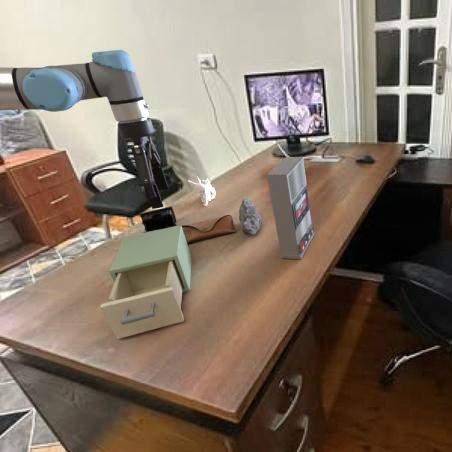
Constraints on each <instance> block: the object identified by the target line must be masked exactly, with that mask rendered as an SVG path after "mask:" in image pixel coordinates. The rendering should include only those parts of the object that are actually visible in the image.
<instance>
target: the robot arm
mask: <svg viewBox="0 0 452 452" xmlns="http://www.w3.org/2000/svg"><path fill="white" fill-rule="evenodd" d="M91 58H92V59H91V60H92V61H89V62H84V63H71V64H58V65H45V66H42V67H3V66H2V67H0V111H27V110H28V111H29V110H33V111H34V110H35V111H39V110H41V111H46V112H51V113H54V112H55V113H56V112H64V111H67V110H70V109H71V108H73V107H74V106H75V105H76V104H77V103H79V102H80V101H87V100H93V99H100V98H107V100H108V103H109V106H110V110H111V111H112V112H111V113H112V114H113V116H114V120H115V121H116V122H118V123H117V127H118V131H119V133H120V136H121V137H122V139H124V140H132V145H130V150H131V153H132V155H133V159H134V163H135V168H136V172H137V176H138V180H139V183H138V186H139V187H140V188H142V187H143V189H144V191H145V194H146V196H147V199H148V202H149V204H150V207H151V210H157V209H162V208H165V205H164V203H163V200H162V197H161V194H160V191H164V190H165V191H166V190H169V185H168V181H167V178H166V176H165V173H164V170H163V167H164V166H165V164H164V161H163V162H162V159H161V157H160V155H159V153H158V150H157V148H156V146H155V144H154V142H153V140H152V137H151V136H152V135H154V134H155V129H154V125H153V122H152V119H151V118H150V117H149V116H150V115H149V114H150V113H149V111H148V108H149V107H150V105H149V103H145V99H144V95H143V92H142V89H141V86H140V83H139V80H138V75H137V74H136V69H135V68H134V65H133V63H132V59H131V57H130V55H129V53H128V52H127V51H126V50H124V49H114V50H105V51H93V52H91Z"/></svg>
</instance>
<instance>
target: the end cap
mask: <svg viewBox="0 0 452 452" xmlns="http://www.w3.org/2000/svg"><path fill="white" fill-rule="evenodd" d="M139 216H140V219H141V224H142V225H143V226H144V231H145V233H146V232H150V231H155V230H160V229H165V228H170V227H175V226H177V222H178V221H177V216H176V213H175V211H174V208H173V206H166V207H162V208H156V209H152V210H148V211H145V212H142V213H140V214H139Z"/></svg>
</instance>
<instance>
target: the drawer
mask: <svg viewBox="0 0 452 452" xmlns="http://www.w3.org/2000/svg"><path fill="white" fill-rule="evenodd" d="M182 288H183V282H182V279H181V276H180V274H179V271H178V268H177V265H176V263H175V260H170V261H166V262H162V263H157V264H153V265H149V266H144V267H140V268H135V269H131V270H127V271H122V272H118V275H117V278H116V280H115V282H114V283H113V285H112V289H111V291H110V294H109V296H108V299H107V300H108V302H104V303H101V305H100V307H99V308H100V310H101V312H102V313H103V315H104V317H105V319H106V321H107V324H109V327H110V329H111V330H112V333H113V334H114V336H115V338H116V339H117V340H120V339H123V338H126V337H130V336H135V335H137V334H141V333H146V332H149V331H152V330H155V329H159V328H164V327H168V326H171V325H175V324H178V323H182V322H185V315H184V314H183V311H182V309H181V308H182V298H183V293H182Z"/></svg>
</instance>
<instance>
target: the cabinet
mask: <svg viewBox="0 0 452 452" xmlns="http://www.w3.org/2000/svg"><path fill="white" fill-rule="evenodd" d="M182 226H183V225H181V224H179V225H176V226H175V227H170V228H165V229H160V230H155V231H150V232H146V231H145V232H142V233H135V234H132V235H126V236H123V237H122V240H121V242H120V244H119V247H118V249H117V252H116V254H115V257H114V259H113V261H112V264H111V266H110V268H109V271H108V272H109V274H110V276H111V278H112V280H113V282H114V283H115V280H116V278H117V275H118V272H122V271H127V270H131V269H135V268H140V267H144V266H149V265H153V264H157V263H162V262H166V261H170V260H175V263H176V265H177V268H178V271H179V274H180V276H181V279H182V282H183V288H182V294H184V293H187V292H188V293H189V292H190V291H191V277H192V275H191V274H192V261H193V259H192V258H193V257H192V253H191V251H190V248H189V247H190V246H189V244H187V241H186V238H185V235H184V232H183V229H182Z"/></svg>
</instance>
